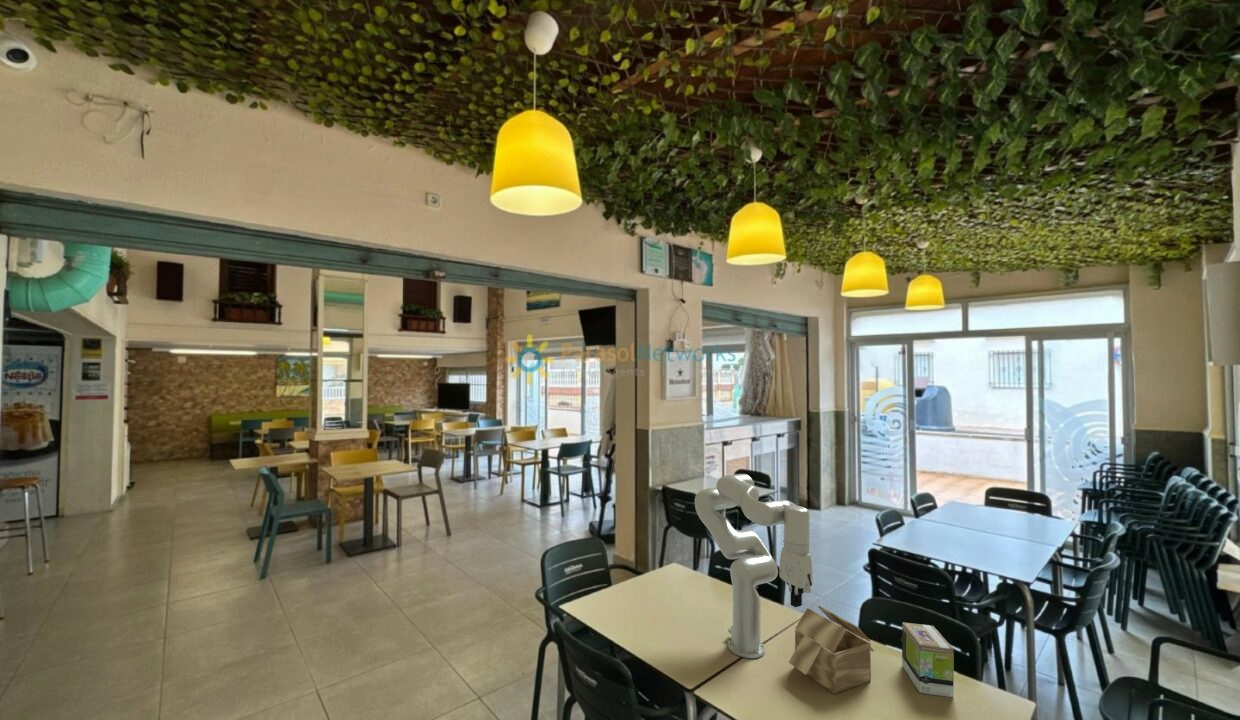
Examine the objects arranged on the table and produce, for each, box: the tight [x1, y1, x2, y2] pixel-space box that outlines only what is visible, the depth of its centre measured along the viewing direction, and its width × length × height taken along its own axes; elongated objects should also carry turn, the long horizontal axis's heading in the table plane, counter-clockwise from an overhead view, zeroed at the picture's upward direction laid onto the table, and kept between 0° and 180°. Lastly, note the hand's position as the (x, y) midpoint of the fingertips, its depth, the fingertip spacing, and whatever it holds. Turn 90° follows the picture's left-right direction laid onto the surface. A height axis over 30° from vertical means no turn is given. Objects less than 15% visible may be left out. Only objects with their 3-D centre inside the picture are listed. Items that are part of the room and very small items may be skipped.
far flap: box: [818, 605, 875, 653], centre depth 163 cm, size 15×18×1 cm
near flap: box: [788, 607, 846, 676], centre depth 156 cm, size 15×18×1 cm
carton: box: [794, 621, 872, 695], centre depth 159 cm, size 16×16×12 cm
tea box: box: [901, 621, 955, 698], centre depth 156 cm, size 15×10×15 cm, turn 168°
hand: (796, 605), depth 154 cm, fingers closed
